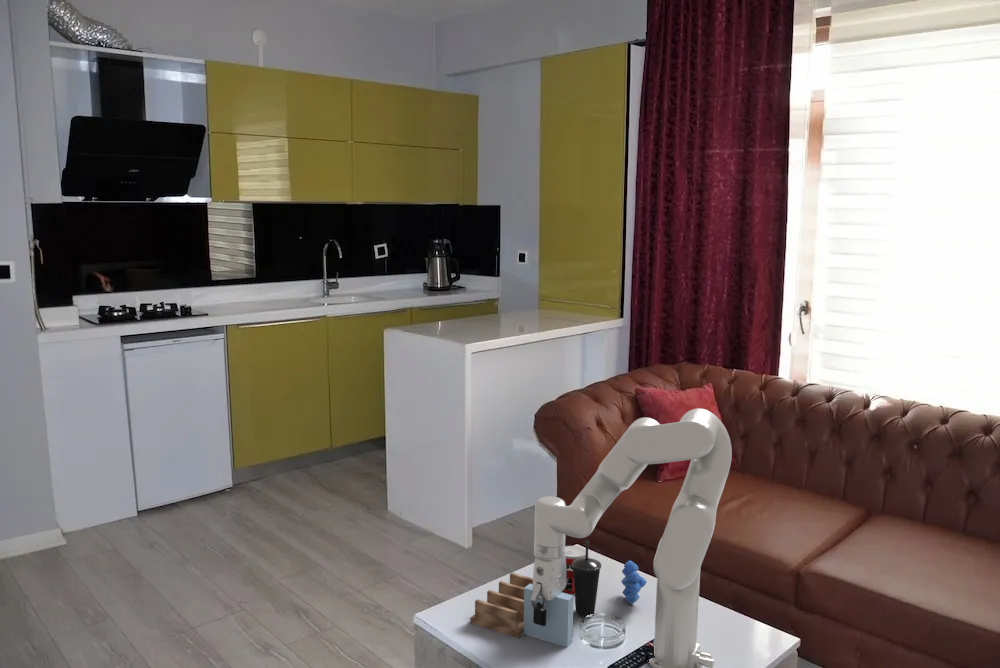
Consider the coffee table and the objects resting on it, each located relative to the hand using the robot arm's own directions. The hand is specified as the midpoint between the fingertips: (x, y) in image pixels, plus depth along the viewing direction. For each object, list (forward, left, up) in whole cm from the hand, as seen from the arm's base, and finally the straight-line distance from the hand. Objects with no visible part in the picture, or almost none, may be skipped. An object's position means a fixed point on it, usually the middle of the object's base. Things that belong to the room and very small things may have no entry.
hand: (547, 616), depth 182 cm
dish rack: (+13, -6, -6) cm, 15 cm away
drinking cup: (-3, -16, -6) cm, 17 cm away
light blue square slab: (0, 0, -6) cm, 6 cm away
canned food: (+6, -27, -6) cm, 28 cm away
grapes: (-12, -28, -6) cm, 31 cm away
